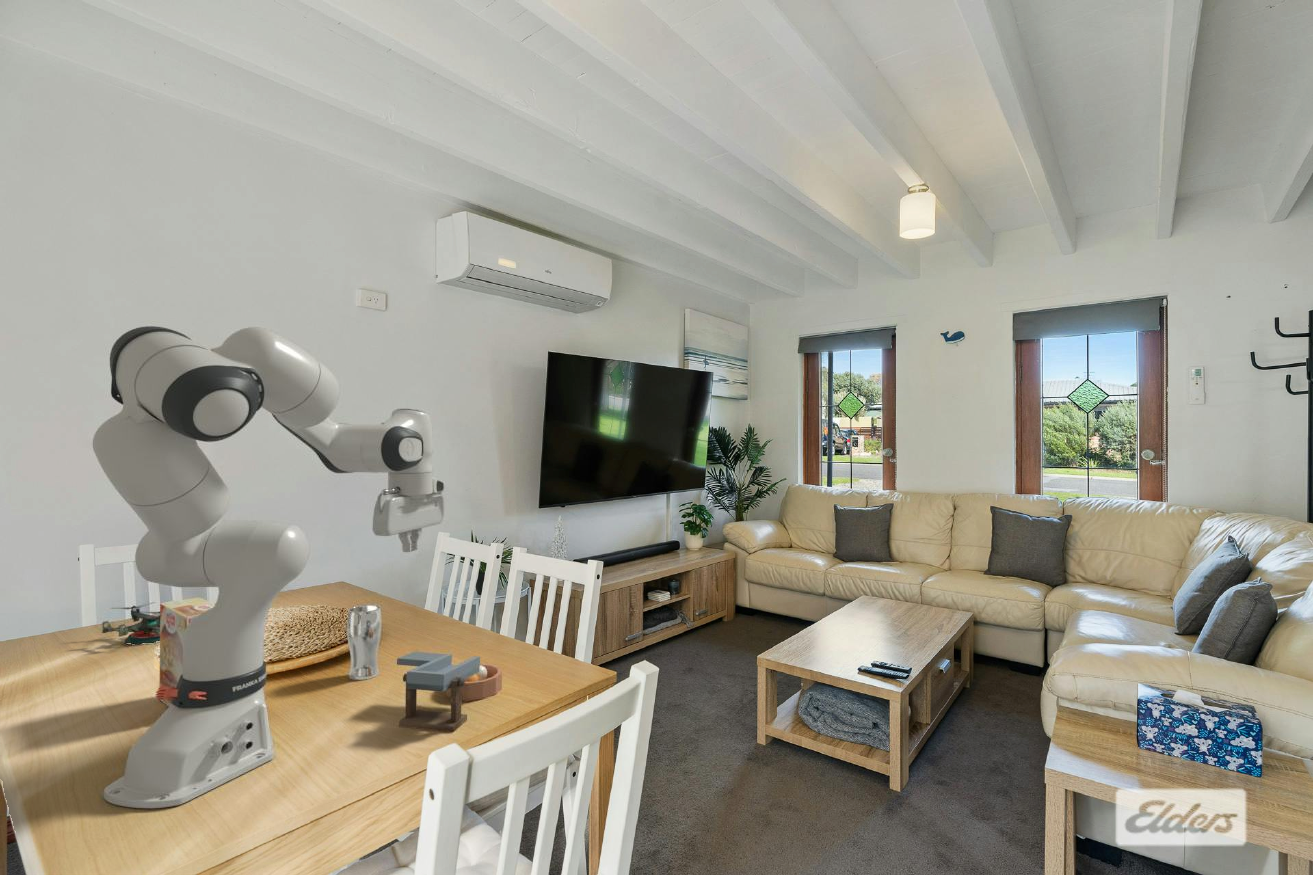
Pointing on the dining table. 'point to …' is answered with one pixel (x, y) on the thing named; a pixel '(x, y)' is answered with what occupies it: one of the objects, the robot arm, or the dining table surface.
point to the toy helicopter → (138, 627)
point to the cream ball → (482, 673)
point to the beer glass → (364, 640)
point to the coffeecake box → (176, 637)
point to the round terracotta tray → (482, 685)
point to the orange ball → (472, 678)
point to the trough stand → (433, 718)
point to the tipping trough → (436, 670)
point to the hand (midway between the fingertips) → (410, 551)
